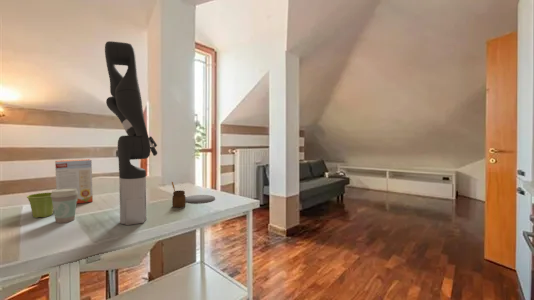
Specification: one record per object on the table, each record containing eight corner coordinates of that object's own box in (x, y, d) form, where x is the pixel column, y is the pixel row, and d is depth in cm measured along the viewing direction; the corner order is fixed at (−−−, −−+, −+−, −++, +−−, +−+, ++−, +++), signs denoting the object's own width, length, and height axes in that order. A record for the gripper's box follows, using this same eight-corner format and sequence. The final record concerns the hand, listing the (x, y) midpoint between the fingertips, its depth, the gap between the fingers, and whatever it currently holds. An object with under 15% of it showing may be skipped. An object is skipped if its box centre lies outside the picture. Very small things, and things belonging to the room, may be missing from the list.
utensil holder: (187, 206, 126) (187, 181, 125) (174, 208, 122) (174, 182, 121) (182, 203, 130) (182, 179, 130) (169, 205, 126) (169, 180, 126)
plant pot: (22, 217, 106) (21, 195, 105) (49, 211, 115) (48, 191, 114) (35, 220, 102) (34, 198, 102) (62, 214, 111) (62, 193, 110)
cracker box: (91, 199, 136) (90, 158, 134) (92, 202, 131) (92, 159, 130) (56, 203, 127) (55, 160, 126) (56, 206, 122) (55, 161, 121)
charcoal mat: (219, 200, 138) (219, 199, 138) (189, 204, 129) (189, 203, 129) (208, 194, 151) (208, 193, 151) (179, 198, 142) (179, 196, 142)
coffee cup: (45, 222, 100) (44, 191, 99) (68, 216, 108) (67, 187, 108) (61, 225, 98) (61, 193, 97) (84, 218, 106) (83, 188, 105)
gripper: (124, 124, 125) (141, 153, 122) (149, 124, 138) (164, 150, 135) (116, 133, 127) (132, 161, 125) (141, 132, 140) (156, 158, 138)
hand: (149, 155), depth 130 cm, fingers open, 8 cm apart
